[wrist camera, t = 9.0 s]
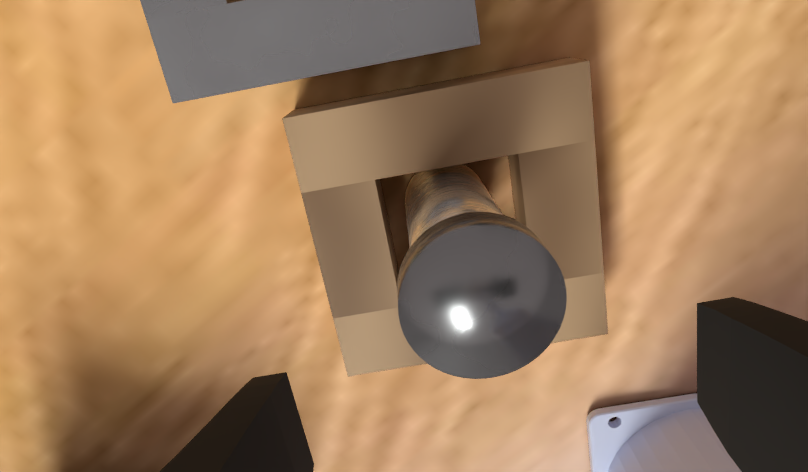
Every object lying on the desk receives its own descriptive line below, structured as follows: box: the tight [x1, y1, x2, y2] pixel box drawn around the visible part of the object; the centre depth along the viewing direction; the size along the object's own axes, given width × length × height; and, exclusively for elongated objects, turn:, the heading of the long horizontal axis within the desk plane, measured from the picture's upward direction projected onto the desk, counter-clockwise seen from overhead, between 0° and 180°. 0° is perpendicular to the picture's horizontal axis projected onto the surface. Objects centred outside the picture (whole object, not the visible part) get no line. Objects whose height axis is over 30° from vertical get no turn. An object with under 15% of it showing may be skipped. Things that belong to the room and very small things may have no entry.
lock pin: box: [397, 164, 567, 379], centre depth 16 cm, size 4×4×8 cm
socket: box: [283, 57, 608, 376], centre depth 19 cm, size 9×9×2 cm
